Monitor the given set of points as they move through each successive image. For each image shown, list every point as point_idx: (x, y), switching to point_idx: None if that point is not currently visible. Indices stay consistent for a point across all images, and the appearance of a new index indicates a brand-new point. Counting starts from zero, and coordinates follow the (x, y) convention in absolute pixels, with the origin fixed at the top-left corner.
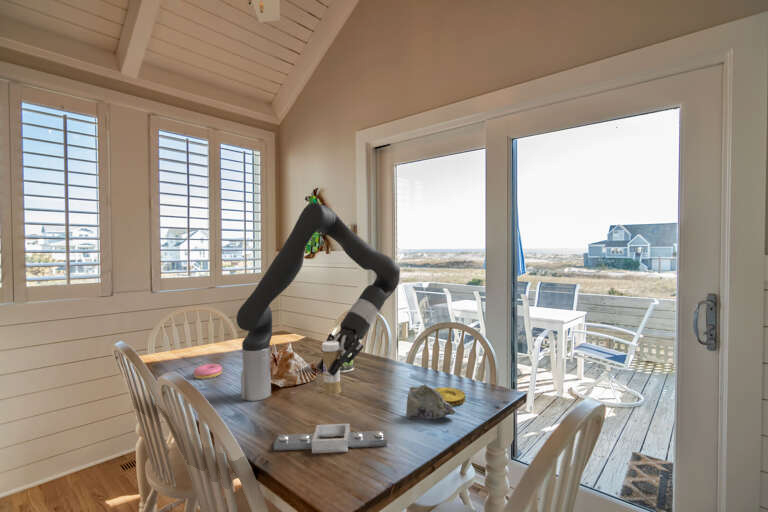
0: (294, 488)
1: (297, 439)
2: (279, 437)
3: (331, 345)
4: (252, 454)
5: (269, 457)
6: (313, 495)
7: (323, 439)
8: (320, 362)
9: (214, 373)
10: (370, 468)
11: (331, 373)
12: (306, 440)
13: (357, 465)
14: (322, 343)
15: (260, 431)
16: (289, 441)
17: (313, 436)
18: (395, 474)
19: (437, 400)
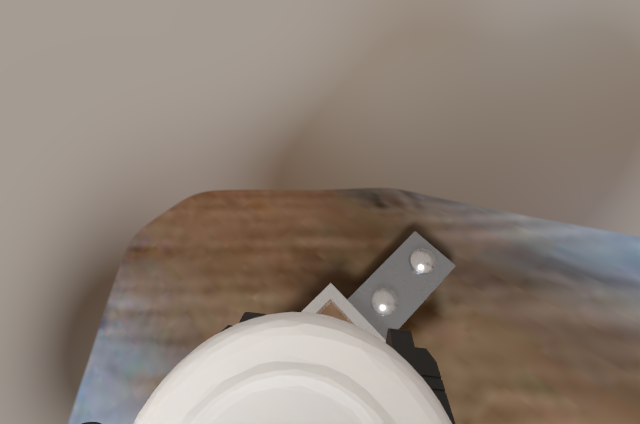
0: (259, 193)
1: (393, 284)
2: (429, 251)
3: (159, 390)
4: (431, 198)
5: (391, 215)
6: (216, 203)
7: (313, 311)
8: (411, 361)
9: None
10: (170, 337)
11: None
12: (370, 297)
13: (203, 325)
14: (379, 349)
15: (538, 265)
16: (400, 264)
17: (350, 303)
18: (105, 358)
19: None
